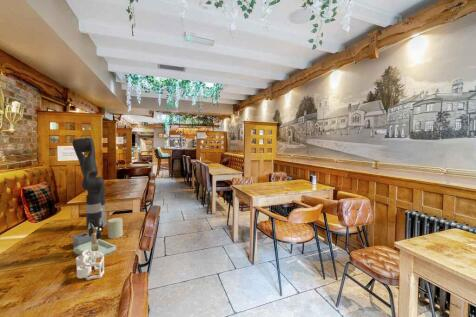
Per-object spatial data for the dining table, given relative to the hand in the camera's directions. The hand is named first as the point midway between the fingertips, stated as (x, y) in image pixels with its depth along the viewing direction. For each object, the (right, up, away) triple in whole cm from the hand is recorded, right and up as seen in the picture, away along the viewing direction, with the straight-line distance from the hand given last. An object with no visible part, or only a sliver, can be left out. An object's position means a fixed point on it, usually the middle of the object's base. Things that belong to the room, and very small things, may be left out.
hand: (94, 237), depth 124 cm
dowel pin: (0, -8, 0) cm, 8 cm away
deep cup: (-14, -8, +8) cm, 18 cm away
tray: (0, -9, 0) cm, 9 cm away
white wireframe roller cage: (+10, -10, -18) cm, 23 cm away
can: (-1, -8, +23) cm, 24 cm away
